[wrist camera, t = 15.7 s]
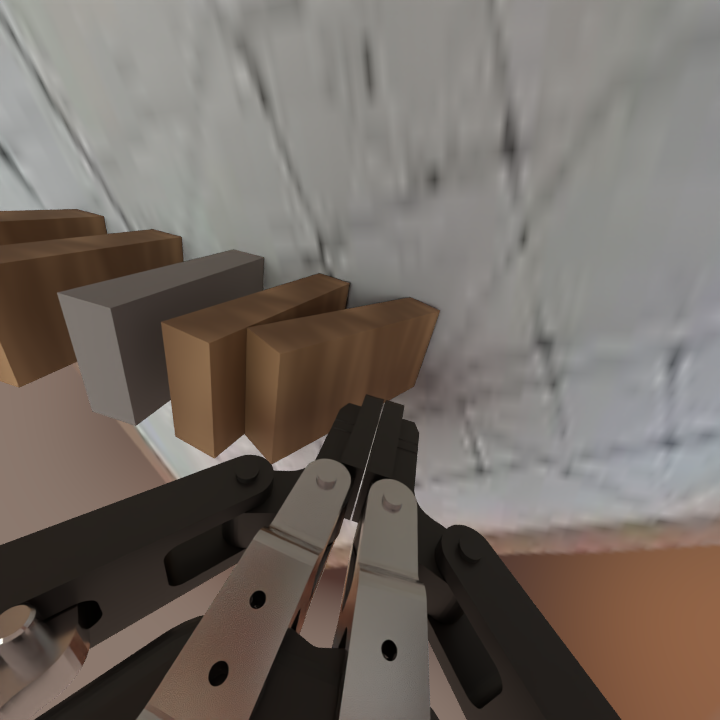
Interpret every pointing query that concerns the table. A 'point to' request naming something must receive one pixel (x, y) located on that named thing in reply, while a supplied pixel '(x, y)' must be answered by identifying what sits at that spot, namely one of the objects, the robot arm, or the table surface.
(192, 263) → the charcoal domino
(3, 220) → the walnut domino
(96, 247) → the walnut domino
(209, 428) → the walnut domino
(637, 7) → the table surface
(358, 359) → the walnut domino
